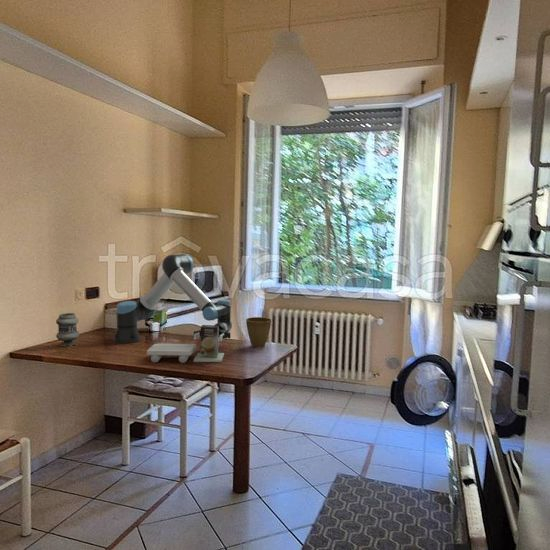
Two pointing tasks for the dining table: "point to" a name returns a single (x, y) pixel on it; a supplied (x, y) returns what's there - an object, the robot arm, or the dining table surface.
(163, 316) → the tea box
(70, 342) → the apothecary jar
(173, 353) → the slab on rollers
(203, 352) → the coffee box
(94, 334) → the dining table surface
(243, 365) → the dining table surface
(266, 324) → the plant pot
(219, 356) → the pad
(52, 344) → the dining table surface
